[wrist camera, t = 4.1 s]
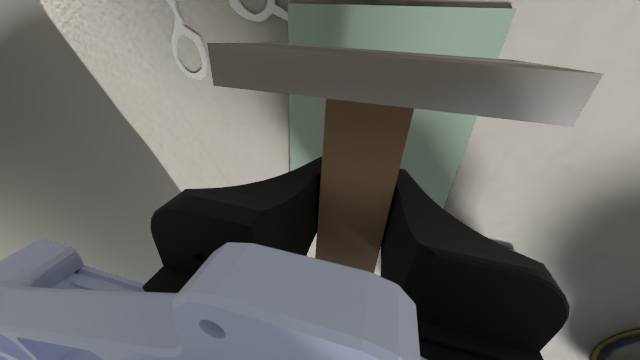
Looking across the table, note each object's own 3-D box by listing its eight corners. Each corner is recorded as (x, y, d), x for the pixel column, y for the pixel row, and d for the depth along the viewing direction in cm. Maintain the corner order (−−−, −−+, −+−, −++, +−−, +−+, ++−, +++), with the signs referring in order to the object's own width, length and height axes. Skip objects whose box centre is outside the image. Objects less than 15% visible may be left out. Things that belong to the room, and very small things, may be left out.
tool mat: (436, 223, 21) (437, 226, 21) (292, 195, 24) (290, 198, 23) (513, 9, 14) (516, 8, 13) (289, 3, 16) (287, 3, 16)
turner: (423, 281, 16) (433, 365, 12) (281, 247, 18) (247, 308, 14) (512, 60, 10) (603, 74, 5) (275, 42, 12) (207, 43, 7)
